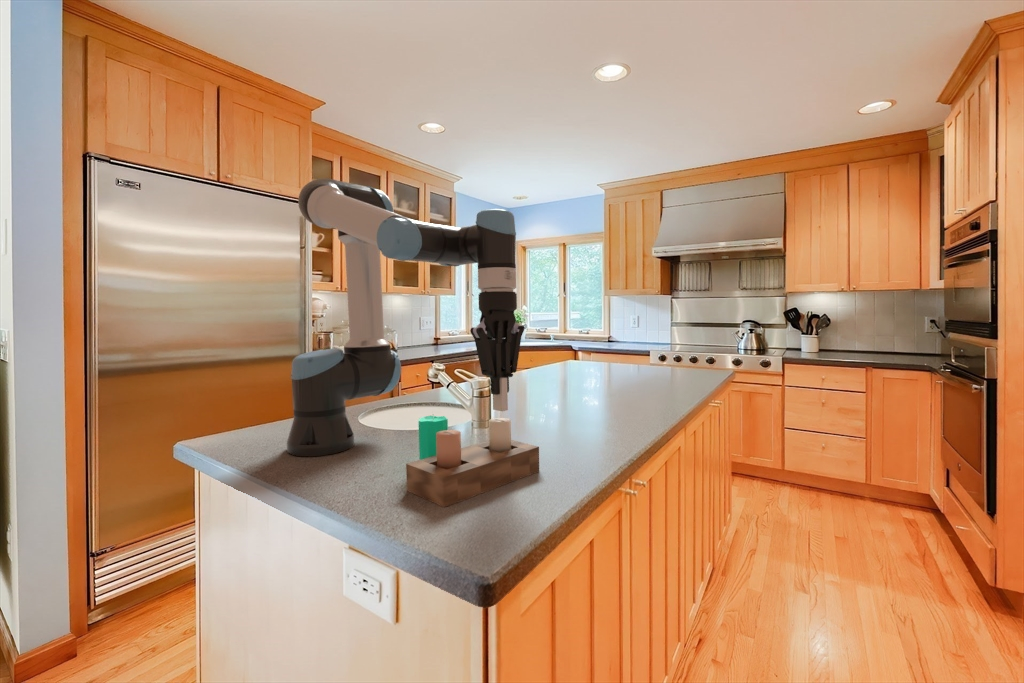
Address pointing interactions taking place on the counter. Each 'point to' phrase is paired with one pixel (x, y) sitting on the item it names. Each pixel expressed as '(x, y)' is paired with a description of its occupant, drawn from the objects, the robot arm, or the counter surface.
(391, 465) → the counter surface
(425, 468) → the mount
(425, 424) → the candle
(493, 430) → the knob far
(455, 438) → the knob near
